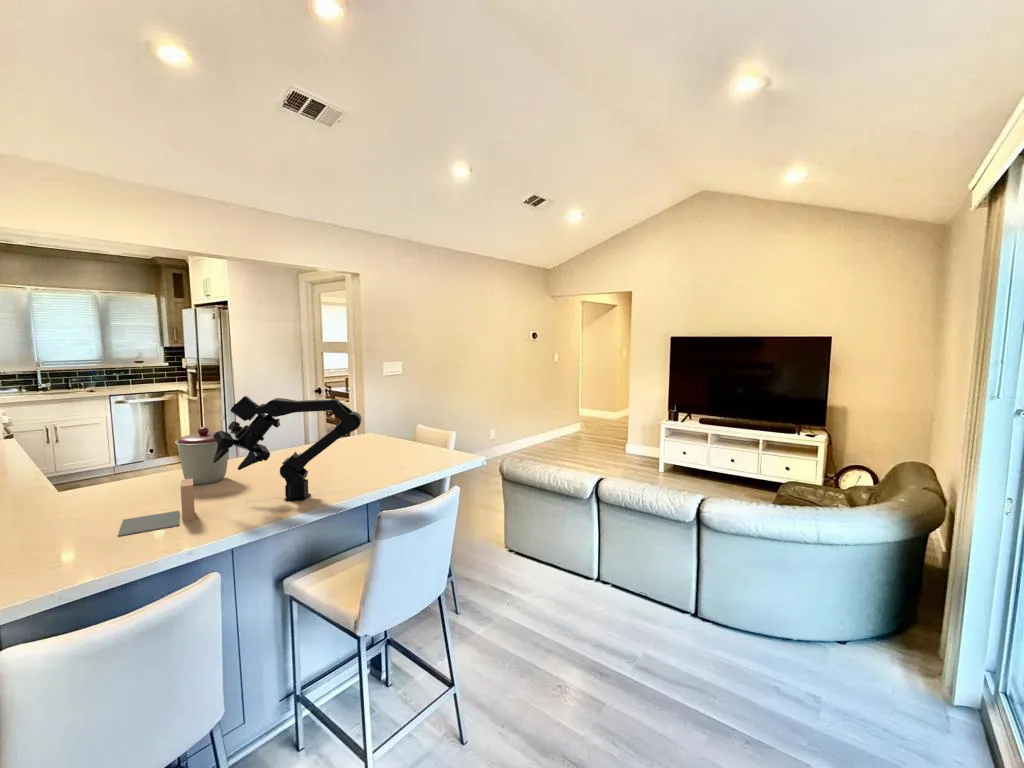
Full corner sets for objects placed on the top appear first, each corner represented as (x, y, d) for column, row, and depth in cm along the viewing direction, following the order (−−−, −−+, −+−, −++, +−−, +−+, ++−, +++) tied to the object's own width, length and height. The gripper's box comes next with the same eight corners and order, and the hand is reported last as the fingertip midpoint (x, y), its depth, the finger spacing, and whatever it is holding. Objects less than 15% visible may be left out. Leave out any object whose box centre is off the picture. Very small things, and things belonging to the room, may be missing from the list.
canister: (214, 471, 195) (212, 421, 193) (243, 477, 188) (240, 425, 186) (167, 483, 179) (163, 429, 177) (196, 490, 171) (192, 433, 169)
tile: (194, 511, 151) (192, 478, 150) (195, 519, 144) (193, 484, 143) (182, 513, 149) (180, 480, 148) (182, 522, 143) (180, 486, 141)
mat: (179, 511, 151) (179, 510, 151) (179, 525, 140) (178, 524, 140) (123, 520, 143) (123, 519, 143) (117, 536, 132) (117, 535, 132)
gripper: (270, 425, 172) (242, 459, 171) (224, 407, 156) (192, 444, 155) (282, 442, 165) (253, 477, 164) (236, 425, 150) (202, 463, 149)
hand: (226, 465), depth 158 cm, fingers open, 9 cm apart
